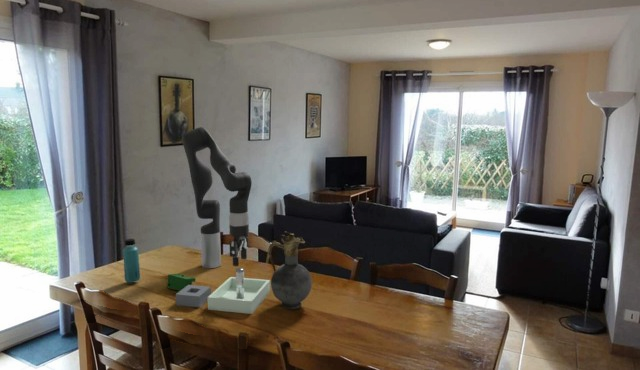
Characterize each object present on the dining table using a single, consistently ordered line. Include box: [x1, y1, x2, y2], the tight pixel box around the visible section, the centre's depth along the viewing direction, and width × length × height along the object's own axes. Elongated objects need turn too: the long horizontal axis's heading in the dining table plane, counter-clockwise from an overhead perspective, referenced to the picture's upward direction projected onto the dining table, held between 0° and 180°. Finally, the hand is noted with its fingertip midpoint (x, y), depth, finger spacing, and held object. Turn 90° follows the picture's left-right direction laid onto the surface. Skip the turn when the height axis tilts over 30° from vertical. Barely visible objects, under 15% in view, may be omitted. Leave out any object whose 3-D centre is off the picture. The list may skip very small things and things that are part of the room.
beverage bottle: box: [122, 238, 141, 283], centre depth 191 cm, size 6×7×20 cm
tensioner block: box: [175, 284, 212, 308], centre depth 174 cm, size 10×10×4 cm
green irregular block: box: [166, 273, 197, 292], centre depth 187 cm, size 12×6×9 cm, turn 56°
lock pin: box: [235, 267, 245, 299], centre depth 174 cm, size 3×3×12 cm
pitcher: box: [267, 231, 313, 310], centre depth 169 cm, size 11×19×30 cm, turn 57°
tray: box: [207, 276, 271, 315], centre depth 175 cm, size 22×18×5 cm
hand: (239, 262), depth 173 cm, fingers open, 8 cm apart
